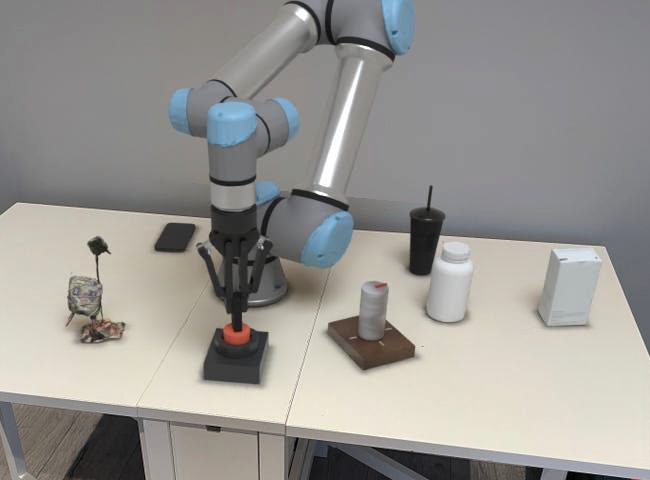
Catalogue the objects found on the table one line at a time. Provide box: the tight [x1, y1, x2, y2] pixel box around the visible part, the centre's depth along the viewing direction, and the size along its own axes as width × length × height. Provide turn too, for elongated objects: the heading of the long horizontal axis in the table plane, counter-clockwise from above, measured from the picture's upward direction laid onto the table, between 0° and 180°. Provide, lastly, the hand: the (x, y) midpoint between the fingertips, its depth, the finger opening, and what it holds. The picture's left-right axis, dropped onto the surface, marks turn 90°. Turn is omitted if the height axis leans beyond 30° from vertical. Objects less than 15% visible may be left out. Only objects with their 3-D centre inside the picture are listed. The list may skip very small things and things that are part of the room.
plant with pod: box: [64, 235, 126, 343], centre depth 144 cm, size 8×11×20 cm
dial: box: [358, 280, 390, 341], centre depth 142 cm, size 5×5×10 cm
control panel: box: [327, 314, 416, 371], centre depth 146 cm, size 14×11×3 cm
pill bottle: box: [426, 241, 475, 323], centre depth 152 cm, size 8×8×15 cm
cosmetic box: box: [538, 246, 603, 327], centre depth 151 cm, size 8×6×15 cm
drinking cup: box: [408, 185, 446, 277], centre depth 167 cm, size 8×8×20 cm
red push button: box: [222, 322, 251, 345], centre depth 138 cm, size 5×5×2 cm
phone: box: [153, 222, 197, 253], centre depth 185 cm, size 7×1×15 cm
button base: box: [203, 327, 270, 385], centre depth 139 cm, size 12×10×6 cm
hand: (236, 327), depth 137 cm, fingers closed
